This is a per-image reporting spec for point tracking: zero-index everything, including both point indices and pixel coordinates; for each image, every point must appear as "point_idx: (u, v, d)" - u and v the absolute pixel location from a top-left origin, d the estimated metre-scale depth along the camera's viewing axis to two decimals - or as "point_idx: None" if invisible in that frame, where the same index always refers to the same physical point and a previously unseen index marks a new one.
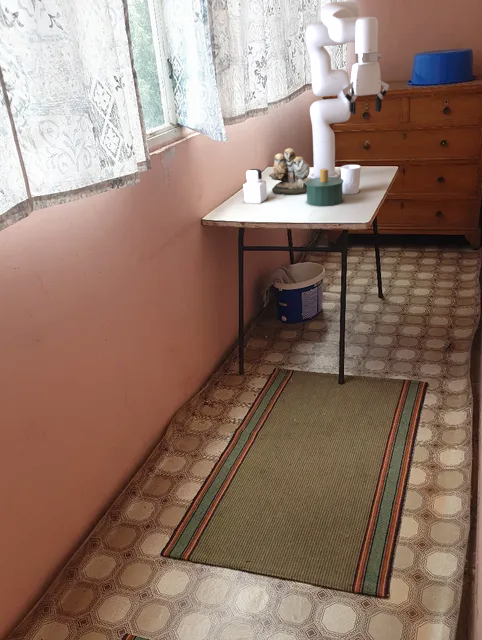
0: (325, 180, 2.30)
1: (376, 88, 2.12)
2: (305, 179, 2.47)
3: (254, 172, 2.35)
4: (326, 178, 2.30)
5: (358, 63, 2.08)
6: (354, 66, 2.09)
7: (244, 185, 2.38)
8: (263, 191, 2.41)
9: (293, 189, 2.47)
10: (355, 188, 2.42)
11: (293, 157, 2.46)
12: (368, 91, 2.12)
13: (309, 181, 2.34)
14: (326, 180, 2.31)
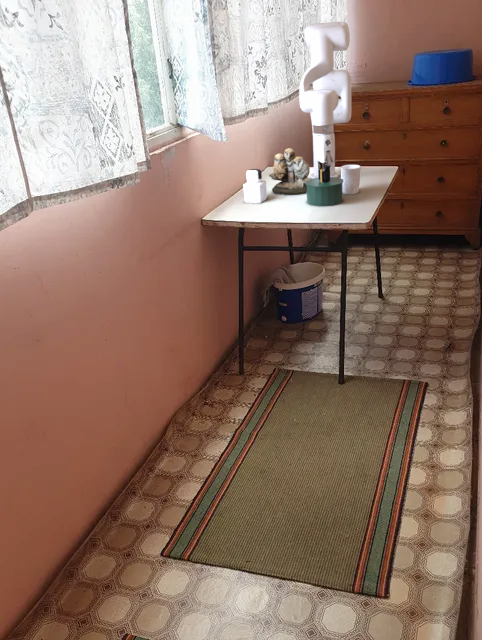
0: None
1: (321, 158, 2.24)
2: (305, 179, 2.47)
3: (254, 172, 2.35)
4: None
5: None
6: None
7: (244, 185, 2.38)
8: (263, 191, 2.41)
9: (293, 189, 2.47)
10: (355, 188, 2.42)
11: (293, 157, 2.46)
12: (318, 159, 2.27)
13: (309, 181, 2.34)
14: None
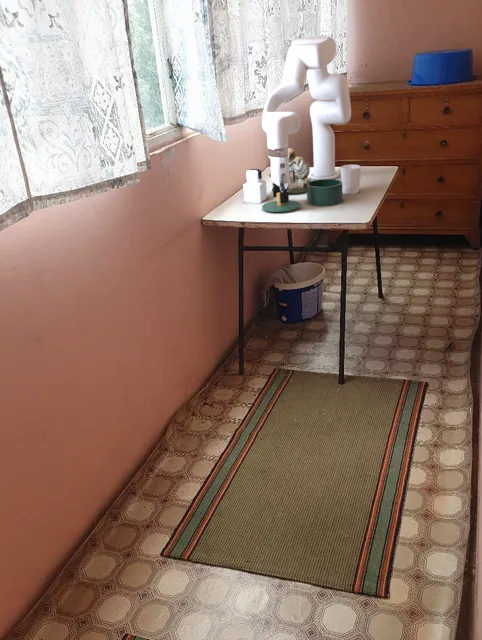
0: (281, 204, 2.29)
1: (276, 181, 2.23)
2: (305, 179, 2.47)
3: (254, 172, 2.35)
4: None
5: None
6: None
7: (244, 185, 2.38)
8: (263, 191, 2.41)
9: (293, 189, 2.47)
10: (355, 188, 2.42)
11: (293, 157, 2.46)
12: (274, 181, 2.26)
13: (266, 205, 2.32)
14: (282, 204, 2.30)
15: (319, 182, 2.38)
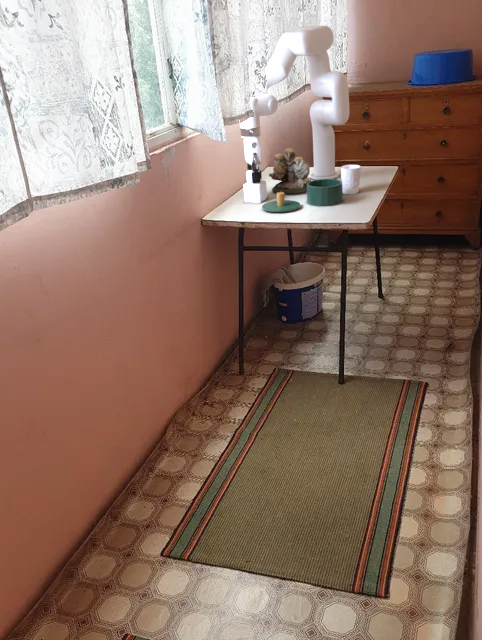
0: (281, 204, 2.29)
1: (249, 160, 2.32)
2: (305, 179, 2.47)
3: None
4: (282, 202, 2.29)
5: None
6: None
7: (244, 185, 2.38)
8: (263, 191, 2.41)
9: (293, 189, 2.47)
10: (355, 188, 2.42)
11: (293, 157, 2.46)
12: (247, 161, 2.35)
13: (266, 205, 2.32)
14: (282, 204, 2.30)
15: (319, 182, 2.38)
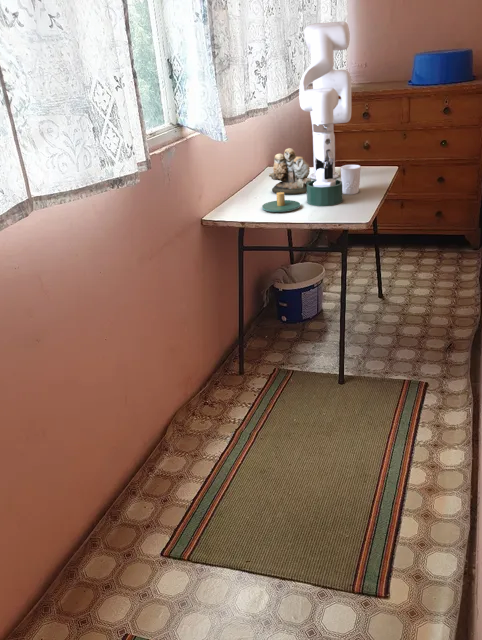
0: (281, 204, 2.29)
1: (321, 157, 2.24)
2: (305, 179, 2.47)
3: None
4: (282, 202, 2.29)
5: None
6: None
7: (314, 184, 2.31)
8: None
9: (293, 189, 2.47)
10: (355, 188, 2.42)
11: (293, 157, 2.46)
12: (318, 157, 2.27)
13: (266, 205, 2.32)
14: (282, 204, 2.30)
15: None
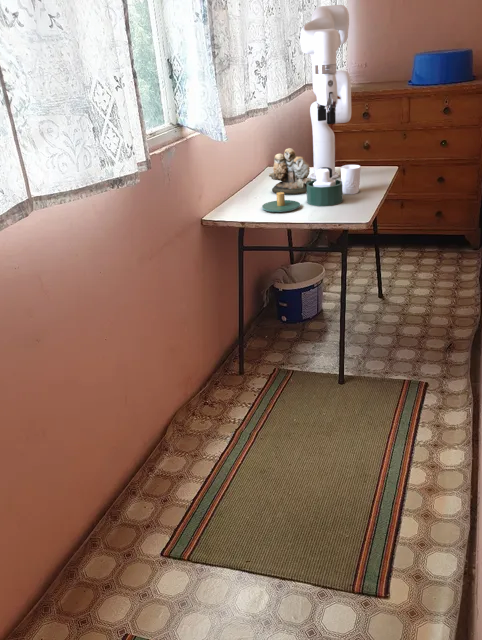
0: (281, 204, 2.29)
1: (323, 100, 2.16)
2: (305, 179, 2.47)
3: (325, 170, 2.28)
4: (282, 202, 2.29)
5: None
6: None
7: (314, 184, 2.31)
8: None
9: (293, 189, 2.47)
10: (355, 188, 2.42)
11: (293, 157, 2.46)
12: (320, 102, 2.19)
13: (266, 205, 2.32)
14: (282, 204, 2.30)
15: None
